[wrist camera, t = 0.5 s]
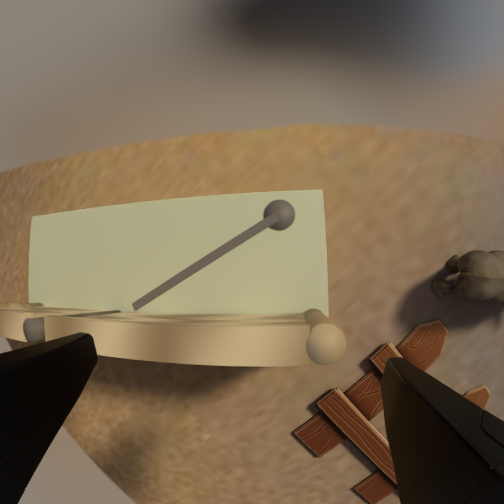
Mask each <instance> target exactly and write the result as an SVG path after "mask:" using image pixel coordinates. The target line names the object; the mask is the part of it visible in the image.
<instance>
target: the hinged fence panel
mask: <svg viewBox="0 0 504 504" xmlns="http://www.w3.org/2000/svg"><path fill="white" fill-rule="evenodd" d="M44 328H45V341H50V340H54V339H57V338H61V337H64V336H68V335H72V334H75V333H79V332H84V333H89V334H91V335H92V337H93V339H94V343H95V347H96V351H97V355H102V356H109V357H117V358H125V359H134V360H144V361H154V362H166V363H179V364H195V365H216V366H310V359H311V360H313V361H314V362H315V363H318V364H321V365H329V364H333V363H335V362H337V361H338V360H339V359H340V358H341V357H342V356H343V354H344V353H345V350H346V345H347V342H346V337H345V335H344V333H343V332H342V331H341V330H340V329H339V328H338V327H337V326H336V325H335V324H334V323H333V322H332V321H331V320H330V319H329V318H328V317H326V316H325V315H324V314H323V313H322V312H321V311H320V310H318V309H308V310H307V311H305V312H304V313H282V314H170V313H139V312H120V313H112V314H104V315H95V316H87V317H68V316H58V315H48V316H44Z"/></svg>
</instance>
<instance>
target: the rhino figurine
mask: <svg viewBox="0 0 504 504" xmlns="http://www.w3.org/2000/svg"><path fill="white" fill-rule="evenodd" d="M448 268H449V269H450V270H452V271H457V272H459V271H460V272H461V273H460V274H459V276H458V277H457V279H456V280H455V281H445V280H436V281H434V283H433V284H432V289H433V291H434V293H435V294H436V295H437V296H438V297H442V296H443V295H445V294H447V293H450V294H455V295H456V296H457V297H459V298H460V299H462V300H464V301H467V302H479V301H487V302H488V303H491V304H501V303H504V251H499V250H496V251H491V252H488V253H487V252H485V251H481V250H474V251H470V252H468V253H466V254H465V255H463V256H461V257H460V258H459V256H457V255H454V256H453V257H452V258H451V259H450V260H449V261H448Z"/></svg>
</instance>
